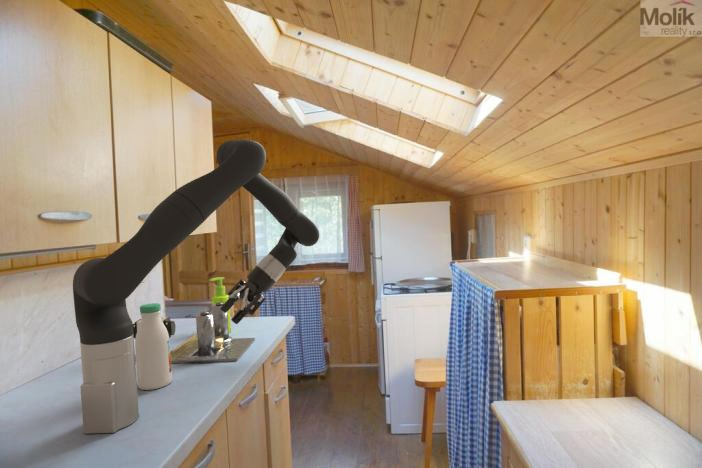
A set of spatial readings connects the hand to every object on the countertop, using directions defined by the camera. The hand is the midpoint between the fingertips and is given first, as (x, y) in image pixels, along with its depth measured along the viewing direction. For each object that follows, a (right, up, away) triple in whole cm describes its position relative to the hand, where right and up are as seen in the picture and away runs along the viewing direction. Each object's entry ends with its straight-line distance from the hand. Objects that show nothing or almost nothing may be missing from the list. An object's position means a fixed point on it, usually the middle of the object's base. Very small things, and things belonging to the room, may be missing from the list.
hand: (227, 316), depth 117 cm
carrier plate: (-7, -13, +10) cm, 18 cm away
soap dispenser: (-12, -12, +32) cm, 36 cm away
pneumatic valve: (-25, -14, +10) cm, 30 cm away
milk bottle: (-14, -14, -14) cm, 24 cm away
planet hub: (-7, -12, +4) cm, 15 cm away
